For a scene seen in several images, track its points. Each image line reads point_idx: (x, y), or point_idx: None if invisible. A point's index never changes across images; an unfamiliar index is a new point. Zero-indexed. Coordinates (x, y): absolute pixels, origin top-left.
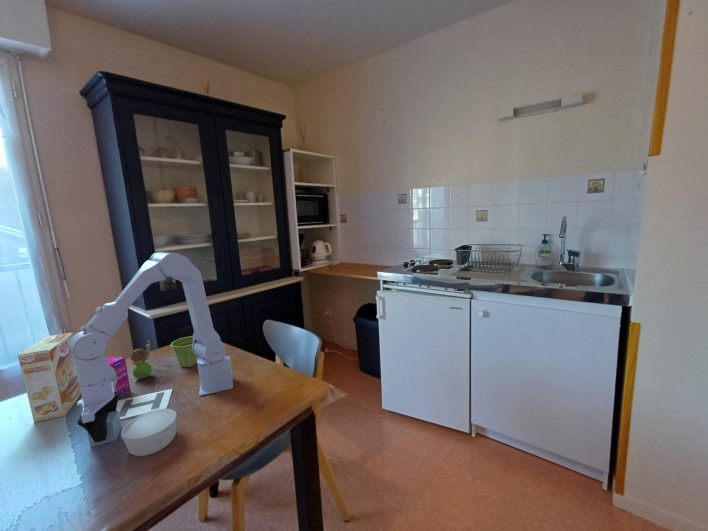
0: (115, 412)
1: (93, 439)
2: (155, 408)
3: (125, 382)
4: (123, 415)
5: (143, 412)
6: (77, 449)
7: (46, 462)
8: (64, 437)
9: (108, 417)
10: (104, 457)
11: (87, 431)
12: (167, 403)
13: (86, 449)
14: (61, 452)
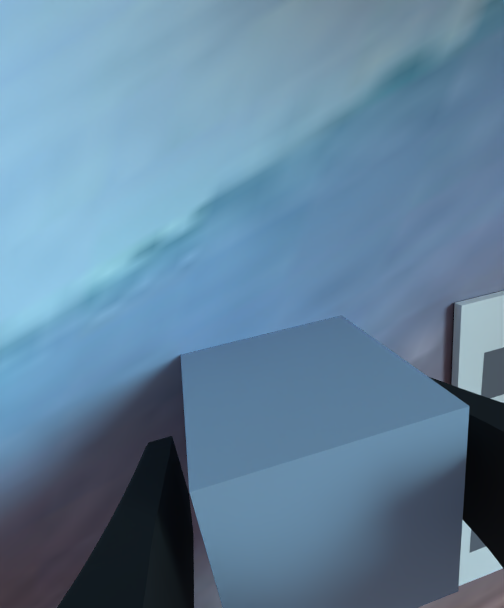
0: (430, 589)
1: (138, 469)
2: (474, 537)
3: None
4: (493, 387)
5: None
6: (170, 265)
7: (17, 56)
8: (400, 15)
9: (356, 585)
10: (24, 529)
11: (71, 587)
12: (493, 571)
13: (152, 343)
14: (158, 131)
